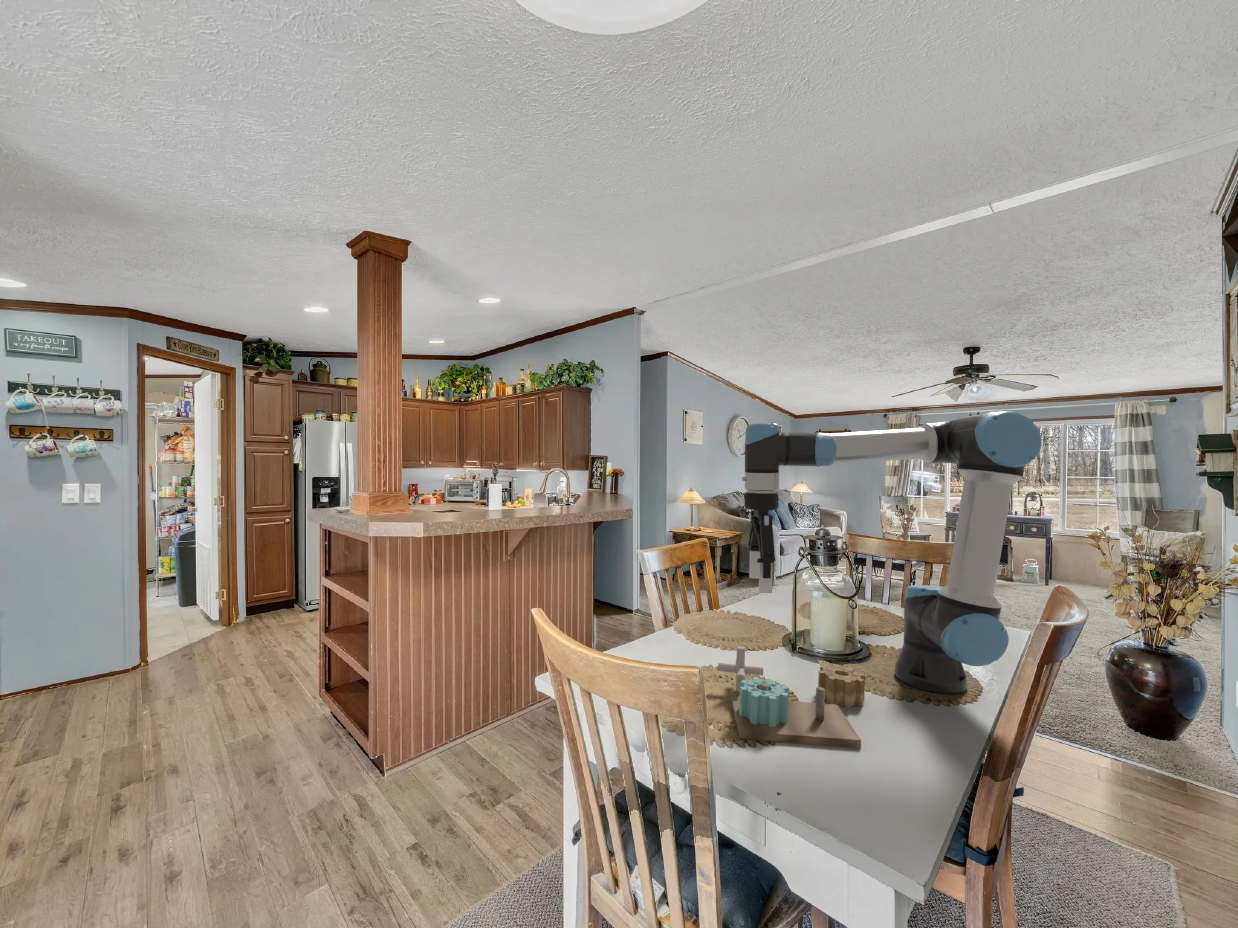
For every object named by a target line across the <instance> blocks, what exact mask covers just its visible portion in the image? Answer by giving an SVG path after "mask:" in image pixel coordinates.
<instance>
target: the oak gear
mask: <svg viewBox="0 0 1238 928" xmlns="http://www.w3.org/2000/svg"><path fill="white" fill-rule="evenodd" d="M865 680H866V676H865V674H864V673H862V672H857V671H856V669H855V668H853V667H851V666H849V667H845V666H839V665H838V664H831V665H829V666H826V665H821V666H819V670H818V680H817V681H818V682H817V685H818V686H817V687H821V688H824V689H825V700H826V703H827V704H837V705H838V706H844V708H849V709H852V706H853V707H855V706H856V705H857V706H858V707H863V706H864V705H865V704H864V703H865V691H866V690H865V688H866V687H865V686H866V685H865V684H866V681H865Z"/></svg>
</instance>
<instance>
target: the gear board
mask: <svg viewBox="0 0 1238 928" xmlns="http://www.w3.org/2000/svg"><path fill="white" fill-rule="evenodd" d="M760 690H762V691H768V685H767V684H760ZM739 699H740V697H734V696H732V697H731V699H730V700H731V704H732V705H731V707H732V708H733V709H732V712H733V711H734V713H733V716H735V717H734V720H736V721H735V724H737V725H736V728H738V729H737V733H738V736H739V740H752V741H763V742H776V743H777V742H778V743H788V744H789V743H790V744H802V745H803V744H804V745H817V746H829V747H841V748H842V747H843V748H855V749H861V748H862V739H861V738H860V736H859V735H858V734H857V731H856V730H855V729H854V727H853V726H852V725H851V723H850V722H849V720H848V718H847V717H846V715H845V714H844V712H843V711H842V709H841V708H840V707H839V704H836V703H835V704H830V703H825V700H826V699H825V689H824V688H821V687H818V686H817V687H816V689H815V702H808V701H807V702H806V701H792V700H791V701H789V700H788V722H787V723H786V724H784V723H781V722H780V723H779V724H776V727H769V726H768V724H761V723H758V724H757V725H755V724H752V723H750V720H749V719H748V718H747V717H741V716H740V714H739Z"/></svg>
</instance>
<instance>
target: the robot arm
mask: <svg viewBox="0 0 1238 928" xmlns="http://www.w3.org/2000/svg"><path fill="white" fill-rule="evenodd" d="M744 438H745V439H744V476H742V477H741V481H742V482H744V490H745V491H746V492H744V495H743V496H744V498H743V499H744V500H743V501H744V502H743V503H744V505H743V506H744V507H743V508H745V509H747V510H750V524H749V525H750V526H749V533H748V534H749V535H748V542H747V546H748V549H749V570H748V571H749V573H748V574H749V576H748V577H749V579H758V593H759V594H773V580H774V579H773V573H774V571H773V569H774V568H773V567H774V566H773V564H774V562H775V561H776V555H775V544H774V543H775V542H774V532H773V531H774V529H773V520H774V519H773V515H769V512H770V511H776V510H778V509H779V502H780V501H779V497H780V496H779V494H778V491H779V490H780V470H779V469H780V466H781V467H782V466H783V467H786V466H789V467H817V468H819V467H830V466H832V465H833V464H846V463H847V464H849V463H850V464H851V463H866V462H867V463H870V462H889V461H891V462H892V461H910V460H921V461H923V462H924V463H925V464H926V463H928V464H934V463H938V464H939V463H941V464H954V465H955V464H956V465H958V466H957V472H958V473H959V474H960V475H961V477H963V485H962V489H961V490H962V491H961V496H960V503H959V510H958V516H957V521H956V529H955V535H954V539H953V547H952V551H951V552H952V553H951V559H950V565H949V571H948V576H947V584H946V585H945V586H939V585H938V586H937V585H925V584H924V585H922V584H914V585H908V586H907V587H906V588H905V592H904V597H903V600H904V604H903V605H904V607H903V609H904V610H903V613H904V614H903V642H902V643H903V644H902V647H901V649H900V652H899V653H898V656H897V658H896V661H895V665H894V675H895V677H896V678H898V680H899V681H901V682H903V683H905V684H907V685H909V686H911V687H914V688H916V689H917V688H918V689H920V690H924V691H927V690H928V692H932V691H933V693H937V692H938V693H939V694H947V693H955V694H961V693H963V691H964V692H965V691H966V690H967V689H968V679H967V678H968V677H967V675H966V672H965V671H966V670H965V668H964V665H965V666H971V667H986V666H989V665H991V664H992V663H994V662H995V661H996V662H997V661H998V660H999V659H1000V658H1002V657H1003V655H1004V654H1005V652H1006V651H1007V649H1008V647H1009V634H1008V630H1007V629H1006V627H1005V625H1004V624H1003V623H1002V621H1000V616H1001V611H1002V604H1001V603H1000V602H999V600H998V599H997V598H996V597H995V596H996V595H995V592H996V585H997V579H998V574H999V568H1000V561H1001V558H1002V557H1001V555H1002V551H1003V544H1004V539H1005V532H1006V526H1007V519H1008V514H1009V509H1010V502H1011V496H1012V490H1013V485H1014V484H1016V483H1018V482H1019V481H1021V480H1022V479H1023V478H1024V472H1025V467H1026V465H1028V464H1030V463H1031V462H1032V461H1033V460H1035V459H1036V458H1037V456H1038V455H1039V454H1040V451H1041V449H1042V443H1043V442H1042V441H1043V440H1042V434H1041V432H1040V430H1039V427H1038V426H1037V425H1036V424H1035V423H1034V422H1033V421H1032V419H1030V418H1029V417H1028V416H1026V415H1024V414H1022V413H1020V412H1016V411H1010V410H1009V411H1007V410H1006V411H1005V410H1004V411H1003V410H1002V411H997V410H995V411H990V412H987V413H981V414H976V415H975V414H973V415H966V416H962V417H959V418H954V419H950V420H944V421H939V422H932V423H931V422H930V423H929V422H927V423H924V424H922V425H921V426H920V427H915V428H899V429H883V430H865V431H851V432H850V431H849V432H848V431H847V432H846V431H845V432H832V433H831V432H830V433H829V432H828V433H827V432H826V433H825V432H818V431H817V432H783V431H782V432H781V430H780V425H779V424H778V423H764V422H762V423H760V422H759V423H751V424H748V425H747V426H746V429H745V437H744ZM963 664H964V665H963Z"/></svg>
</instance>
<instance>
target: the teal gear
mask: <svg viewBox="0 0 1238 928" xmlns="http://www.w3.org/2000/svg"><path fill="white" fill-rule="evenodd" d="M760 684H767V685H768V691H762V690H760ZM739 698H740V699H739V714H740V716H741V717H747V718H748V719H749V720H750V723H752V724H755V725H757V724H758V723H761V724H768V726H769V727H776V724H779V723H780V722H781V723H784V724H786V723H787V722H788V701H789V688H788V687H787V686H786V685H780V684H779V683H777V680H775V679H771V678H770V679H769V680H768V679H760V678H759V677H756V676H755V677H752V678H751V679H749V680H746V679H745V680H742V681H741V682H740V693H739Z"/></svg>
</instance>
